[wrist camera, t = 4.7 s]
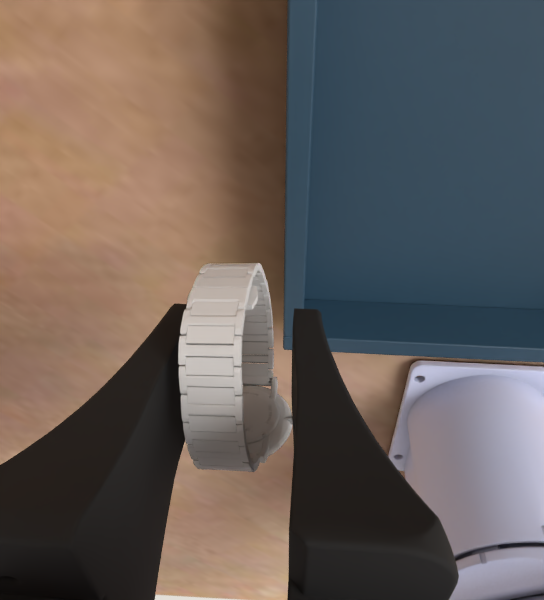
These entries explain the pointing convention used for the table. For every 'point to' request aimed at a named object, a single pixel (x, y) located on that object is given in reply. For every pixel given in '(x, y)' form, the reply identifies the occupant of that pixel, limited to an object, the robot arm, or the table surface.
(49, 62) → the table surface
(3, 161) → the table surface
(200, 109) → the table surface
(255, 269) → the wristwatch
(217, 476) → the table surface
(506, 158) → the tray
